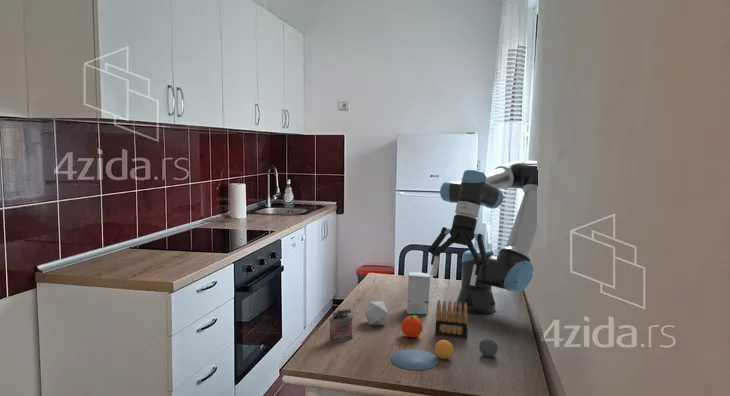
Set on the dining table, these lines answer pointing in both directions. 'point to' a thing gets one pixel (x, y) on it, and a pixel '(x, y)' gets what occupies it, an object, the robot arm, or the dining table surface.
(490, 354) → the dark grey sphere
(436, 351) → the orange ball
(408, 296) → the skincare box
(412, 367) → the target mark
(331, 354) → the dining table surface
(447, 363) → the dining table surface
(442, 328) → the ammunition clip
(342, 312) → the lighter
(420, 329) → the clementine
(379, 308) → the die
